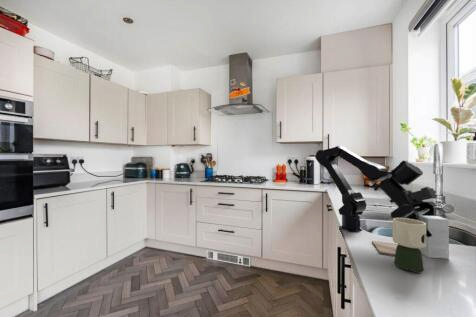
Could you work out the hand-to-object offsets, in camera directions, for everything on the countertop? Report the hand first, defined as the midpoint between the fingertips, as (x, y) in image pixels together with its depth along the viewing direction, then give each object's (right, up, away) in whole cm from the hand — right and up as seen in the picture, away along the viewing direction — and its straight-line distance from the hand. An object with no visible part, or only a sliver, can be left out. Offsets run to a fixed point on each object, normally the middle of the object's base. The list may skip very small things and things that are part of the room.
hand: (437, 234), depth 64 cm
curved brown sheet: (-11, -7, +5) cm, 14 cm away
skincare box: (-1, -7, +1) cm, 7 cm away
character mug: (-15, -7, -8) cm, 18 cm away
